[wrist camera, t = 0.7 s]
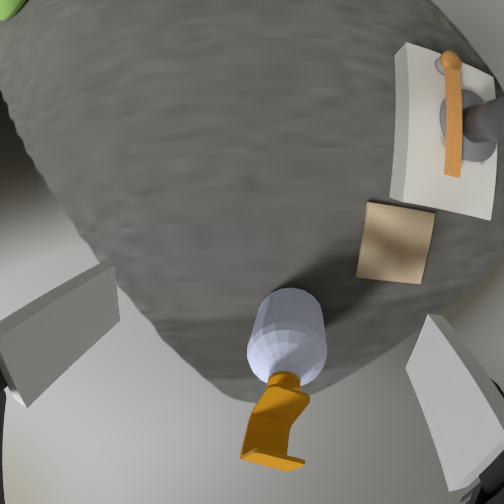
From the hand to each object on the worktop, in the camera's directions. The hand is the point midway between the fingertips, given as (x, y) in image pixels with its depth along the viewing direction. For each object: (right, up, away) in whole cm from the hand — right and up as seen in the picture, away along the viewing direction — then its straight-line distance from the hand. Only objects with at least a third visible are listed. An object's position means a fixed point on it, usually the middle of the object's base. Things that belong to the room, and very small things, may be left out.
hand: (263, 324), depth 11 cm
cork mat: (+19, +4, +24) cm, 30 cm away
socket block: (+25, +19, +18) cm, 36 cm away
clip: (+22, +18, +12) cm, 31 cm away
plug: (+26, +19, +18) cm, 37 cm away
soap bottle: (+5, -6, +29) cm, 30 cm away
